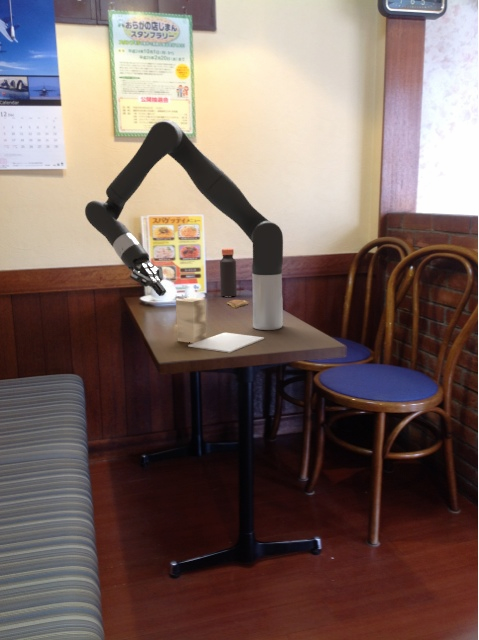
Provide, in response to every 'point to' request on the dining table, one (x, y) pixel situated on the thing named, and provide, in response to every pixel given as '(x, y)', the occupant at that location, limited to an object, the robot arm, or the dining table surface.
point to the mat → (226, 342)
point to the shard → (237, 303)
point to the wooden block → (191, 319)
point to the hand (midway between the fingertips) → (163, 293)
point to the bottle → (228, 273)
